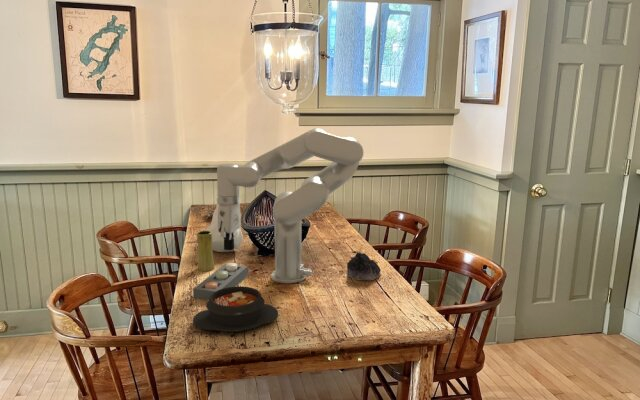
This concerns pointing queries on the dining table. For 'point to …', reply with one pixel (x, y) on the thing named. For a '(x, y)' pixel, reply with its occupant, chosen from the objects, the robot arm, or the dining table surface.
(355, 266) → the crystal cluster
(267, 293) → the dining table surface
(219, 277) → the sage button
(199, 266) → the vase
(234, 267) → the cream rounded piece
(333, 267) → the dining table surface
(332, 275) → the dining table surface
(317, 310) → the dining table surface
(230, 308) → the casserole
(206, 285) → the terracotta button
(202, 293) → the button panel
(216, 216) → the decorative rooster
